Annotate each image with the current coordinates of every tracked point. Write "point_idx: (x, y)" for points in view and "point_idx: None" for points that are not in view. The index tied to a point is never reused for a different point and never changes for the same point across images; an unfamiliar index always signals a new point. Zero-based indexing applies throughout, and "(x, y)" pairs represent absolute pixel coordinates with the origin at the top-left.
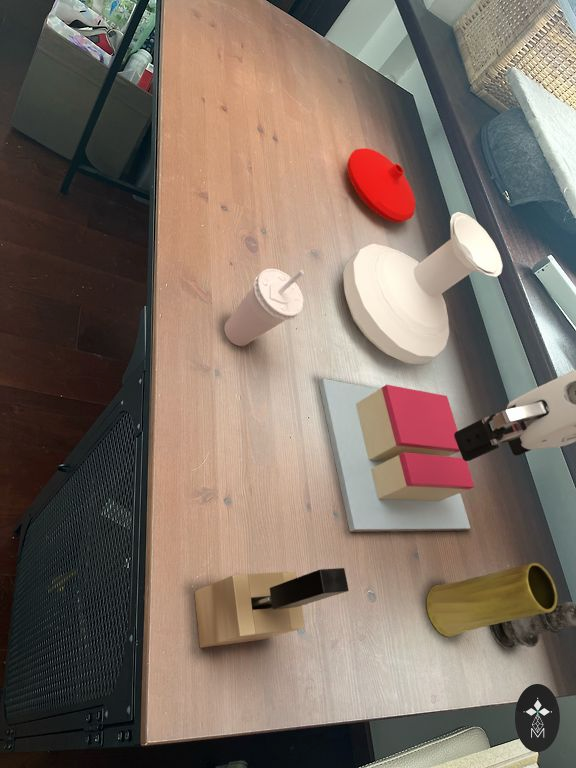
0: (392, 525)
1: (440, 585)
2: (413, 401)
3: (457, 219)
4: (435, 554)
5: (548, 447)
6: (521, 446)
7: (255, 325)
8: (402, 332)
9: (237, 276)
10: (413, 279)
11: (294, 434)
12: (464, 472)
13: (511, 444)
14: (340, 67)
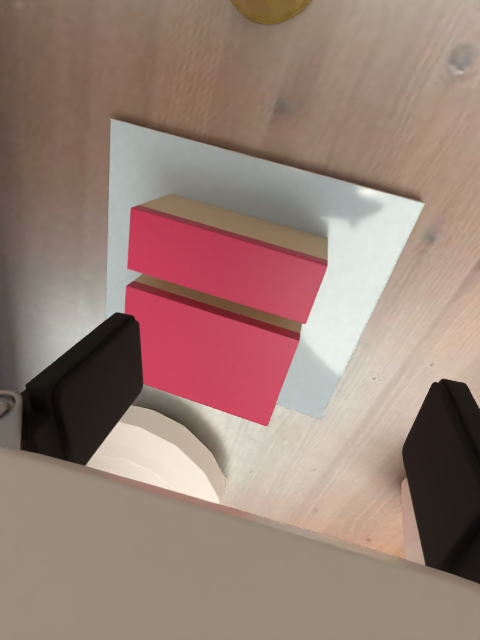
0: (323, 183)
1: (261, 18)
2: (217, 390)
3: None
4: (225, 94)
5: (213, 528)
6: (118, 353)
7: None
8: (169, 467)
9: (369, 529)
10: None
11: (420, 366)
12: (147, 244)
13: (136, 352)
14: None
